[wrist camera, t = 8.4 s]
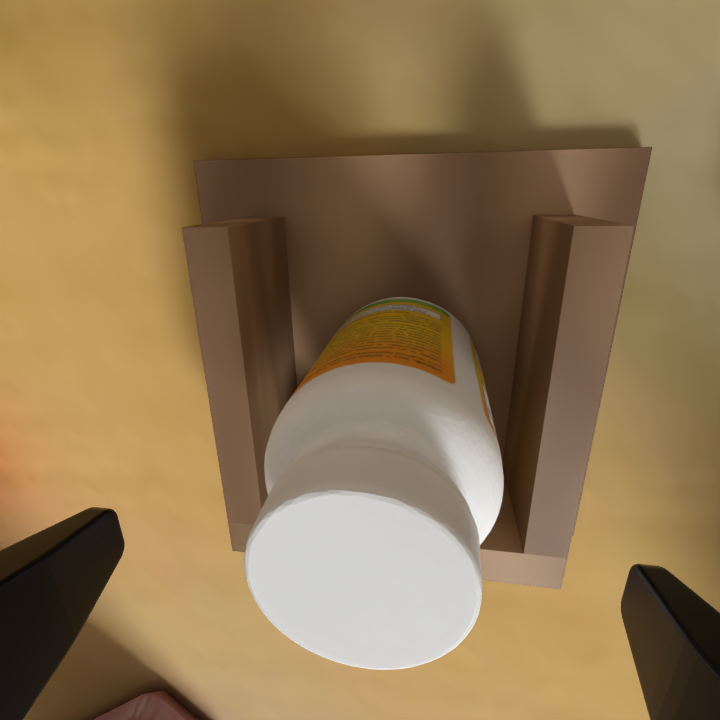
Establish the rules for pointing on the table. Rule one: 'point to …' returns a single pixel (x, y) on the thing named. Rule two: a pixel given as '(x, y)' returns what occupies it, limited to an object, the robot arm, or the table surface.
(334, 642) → the supplement bottle
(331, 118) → the table surface
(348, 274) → the u rest
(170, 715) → the bottle
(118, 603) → the table surface
